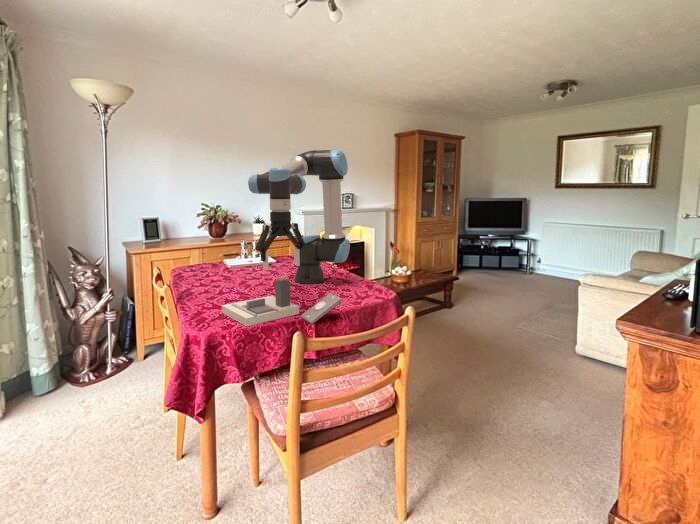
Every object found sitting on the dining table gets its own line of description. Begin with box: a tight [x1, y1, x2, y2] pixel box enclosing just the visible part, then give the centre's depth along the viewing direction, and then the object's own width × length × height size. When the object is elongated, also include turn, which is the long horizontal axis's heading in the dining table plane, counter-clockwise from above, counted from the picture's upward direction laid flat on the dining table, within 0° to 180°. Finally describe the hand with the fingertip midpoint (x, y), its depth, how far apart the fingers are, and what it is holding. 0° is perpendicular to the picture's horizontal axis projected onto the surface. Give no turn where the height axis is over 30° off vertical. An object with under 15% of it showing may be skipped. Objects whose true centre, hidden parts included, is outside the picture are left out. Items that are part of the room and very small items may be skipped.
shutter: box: [246, 297, 273, 314], centre depth 149 cm, size 7×7×3 cm
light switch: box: [300, 292, 343, 325], centre depth 150 cm, size 8×6×14 cm
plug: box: [274, 275, 291, 307], centre depth 155 cm, size 4×4×11 cm
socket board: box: [221, 295, 300, 327], centre depth 155 cm, size 20×22×4 cm
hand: (281, 267), depth 153 cm, fingers open, 13 cm apart
